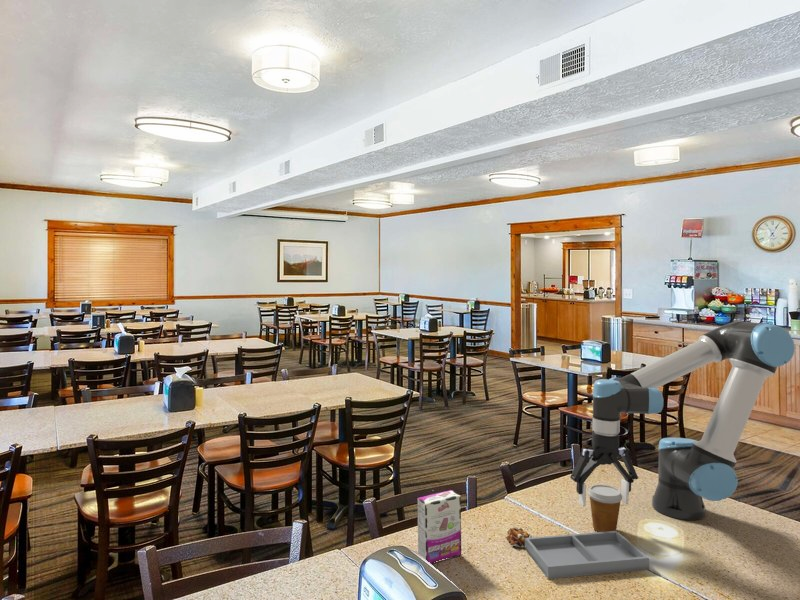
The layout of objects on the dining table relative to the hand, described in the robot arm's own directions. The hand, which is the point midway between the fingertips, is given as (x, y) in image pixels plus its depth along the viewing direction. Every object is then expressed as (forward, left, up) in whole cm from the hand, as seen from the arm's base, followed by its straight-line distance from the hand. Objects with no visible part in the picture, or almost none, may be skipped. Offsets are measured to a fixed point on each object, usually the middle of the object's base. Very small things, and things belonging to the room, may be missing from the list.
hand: (603, 503), depth 152 cm
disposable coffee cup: (0, 0, -8) cm, 8 cm away
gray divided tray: (+14, +14, -8) cm, 21 cm away
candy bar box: (+52, +7, -8) cm, 53 cm away
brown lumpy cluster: (+27, +1, -9) cm, 29 cm away
